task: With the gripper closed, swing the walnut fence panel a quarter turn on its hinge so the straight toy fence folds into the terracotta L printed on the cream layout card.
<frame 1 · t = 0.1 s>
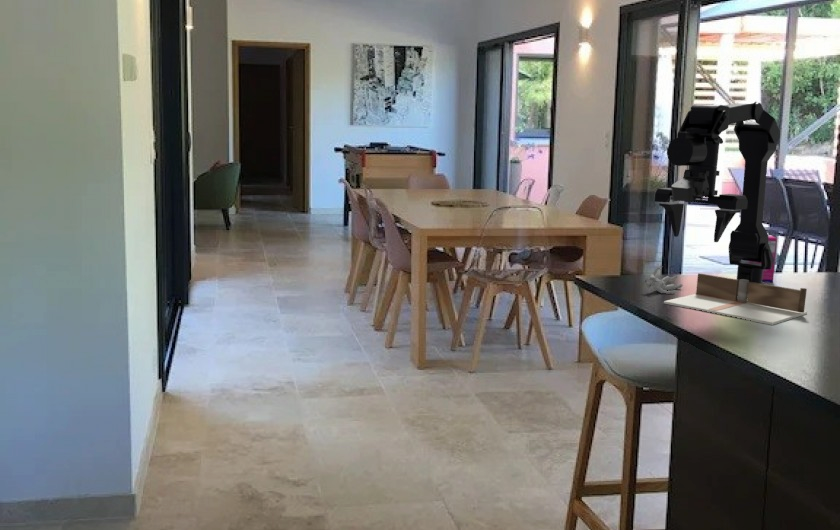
hand: (695, 239, 186), 15 cm above the countertop, fingers open, 9 cm apart
fence base: (741, 304, 193), resting on layout card
supplement box: (758, 280, 225), on the countertop
layout card: (734, 308, 188), on the countertop
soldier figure: (662, 292, 205), on the countertop
fence panel: (776, 295, 187), point 3 cm above the countertop, hinge at 0.0°
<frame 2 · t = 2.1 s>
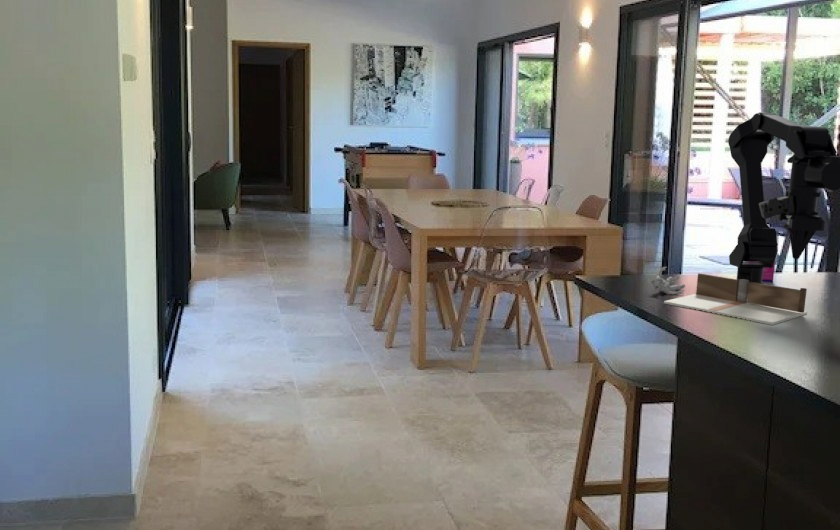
hand: (795, 258, 189), 11 cm above the countertop, fingers closed
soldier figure: (667, 293, 204), on the countertop
everything else where it was.
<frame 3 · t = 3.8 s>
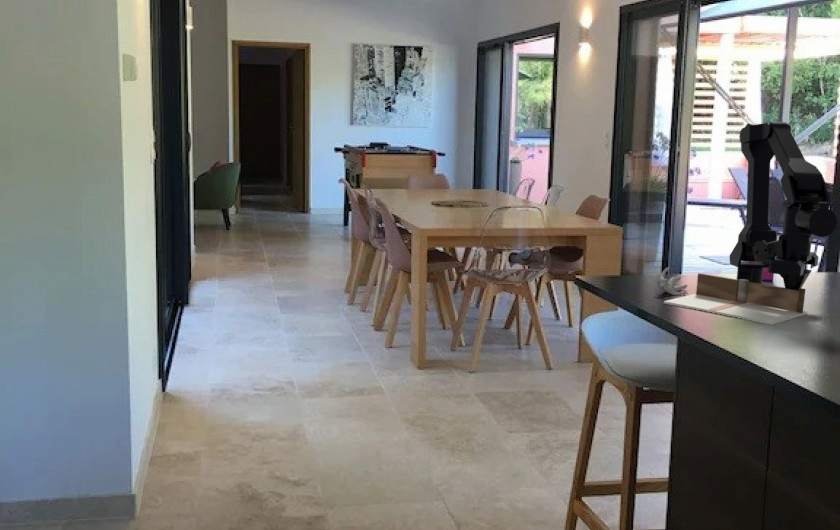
hand: (790, 302, 187), 2 cm above the countertop, fingers closed
fence panel: (775, 295, 187), point 3 cm above the countertop, hinge at -2.7°, touching gripper
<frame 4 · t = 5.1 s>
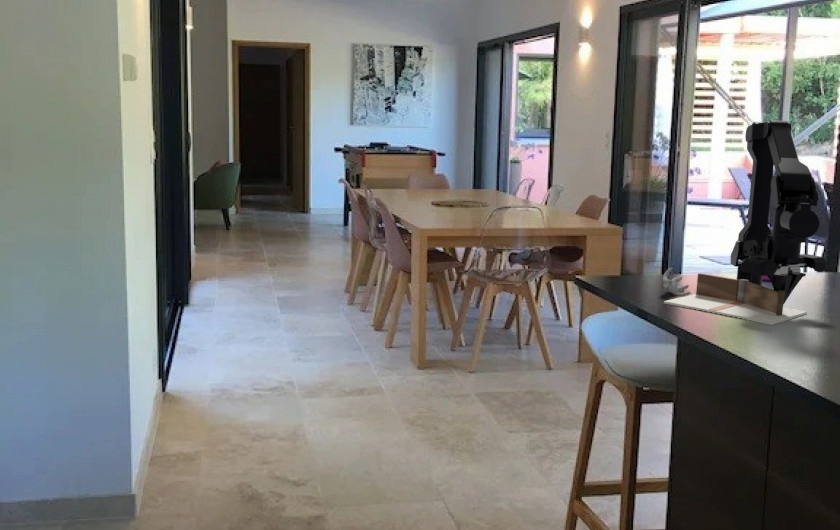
hand: (780, 305, 184), 2 cm above the countertop, fingers closed
fence panel: (763, 296, 185), point 3 cm above the countertop, hinge at -30.7°, touching gripper
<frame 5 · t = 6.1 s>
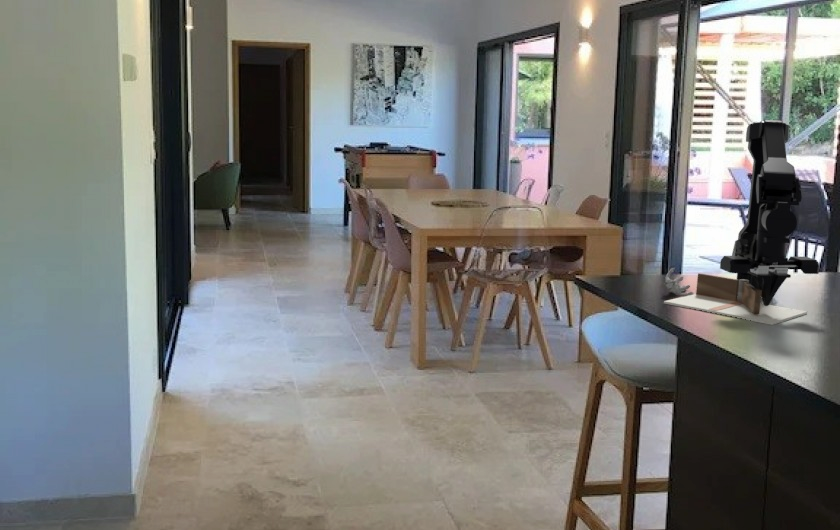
hand: (765, 305, 183), 2 cm above the countertop, fingers closed
fence panel: (751, 296, 185), point 3 cm above the countertop, hinge at -52.2°, touching gripper
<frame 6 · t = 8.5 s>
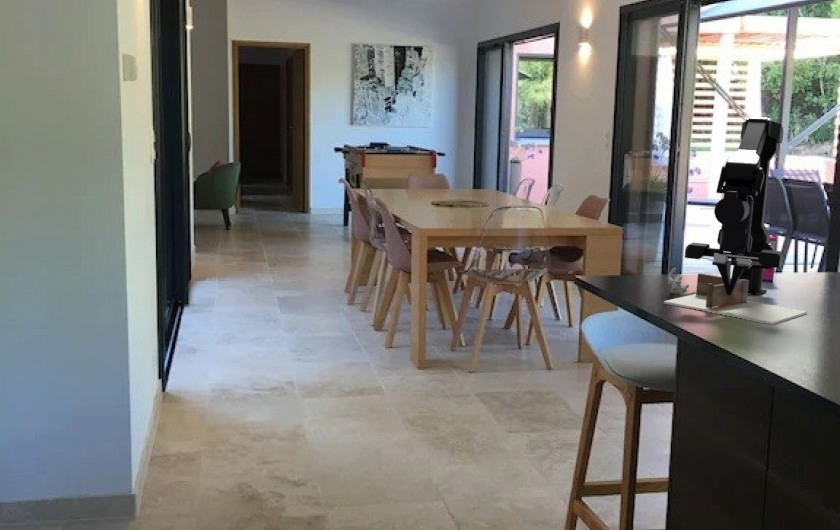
hand: (729, 295, 184), 4 cm above the countertop, fingers closed
fence panel: (724, 293, 187), point 3 cm above the countertop, hinge at -95.4°
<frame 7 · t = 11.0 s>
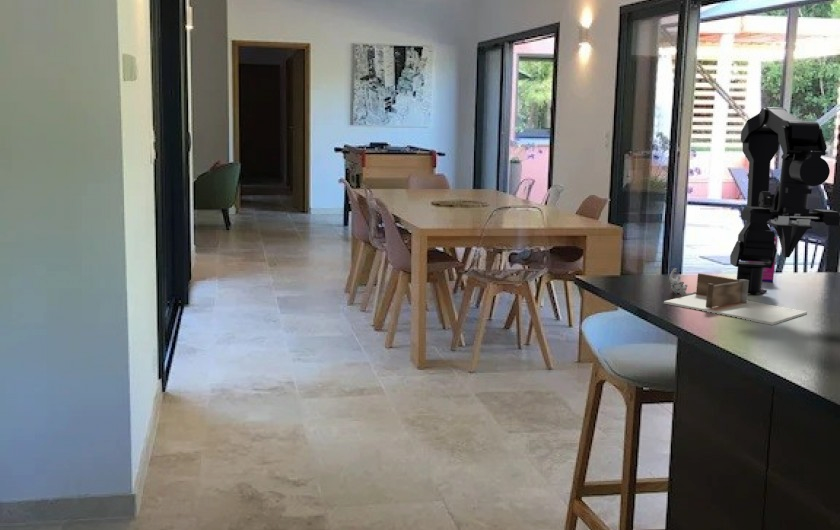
hand: (786, 257, 184), 12 cm above the countertop, fingers closed
at the end: fence panel at -95° (first picture: +0°) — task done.
